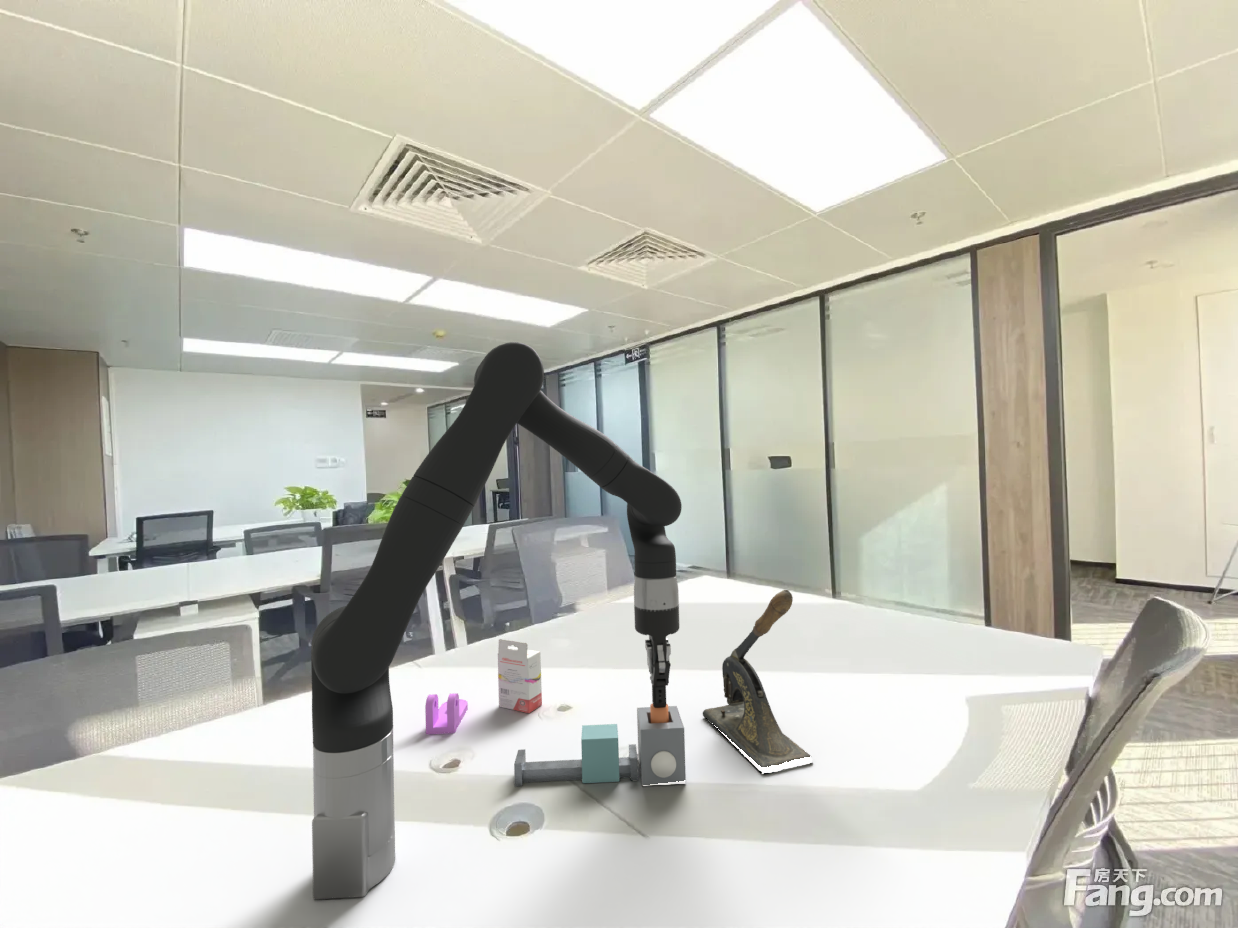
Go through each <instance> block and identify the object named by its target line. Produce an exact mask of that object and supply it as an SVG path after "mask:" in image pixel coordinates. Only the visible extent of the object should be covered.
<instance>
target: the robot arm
mask: <svg viewBox="0 0 1238 928" xmlns="http://www.w3.org/2000/svg"><path fill="white" fill-rule="evenodd" d="M544 379H545V370H544V364H543V361H542V359H541V356H540V355H539V354H538V352H537V351H536V350H535V349H534V348H533V347H532V346H530V345H528V344H526V343H523V342H518V341H512V342H511V341H510V342H505V343H502V344H499V345H497V346H495V347H494V348H492V349H491V350H490V351H488V353H486V355H485V356H484V357H483V359H482V361H481V362H480V364H478V366H477V368H476V370H475V373H474V377H473V384H474V385H473V388H472V389H471V392H470V394H469V396H468V398H467V400H466V402H465V404H464V406H463V407H462V409H461V411H460V412H459V414H458V415H457V417H456V419H455V420H454V421H453V423H452V424H451V425H450V426H449V427H448V428H447V430H446V431H445V432H444V433H443V434H442V436H441V437H440V438H439V439H438V440H437V442H436V443H435V444H434V446H433V447H432V448H431V450H430V451H429V452H428V453H427V454H426V456H425V458H424V459H423V461H421V464H420V465H419V466H418V468H417V469H416V471H415V472H414V473H413V476H412V477H411V479H410V481H409V482H408V483H407V485H406V486H405V488H404V490H403V492H402V493H401V496H400V497H399V499H398V500H397V503H396V505H395V506H394V509H393V511H392V513H391V514H390V516H389V520H388V521H387V522H388V523H387V524H386V526H385V529H384V532H383V534H382V537H381V540H380V542H379V545H378V546H379V547H378V549H377V552H376V554H375V556H374V559H373V561H372V564H371V567H370V568H369V570H368V571H367V574H366V575H365V577H364V579H363V581H362V582H361V584H359V586H358V588H357V589H356V591H355V592H354V594H353V596H352V597H351V598H350V600H349V601H348V603H347V604H346V605H343V606H341V607H338V608H336V609H334V610H333V611H331V612H330V613H328V614H327V615H326V616H325V617H323V619H321V621H320V622H319V623H318V625H317V626H316V627H315V630H314V632H313V635H312V639H311V643H310V644H311V645H310V647H311V648H310V660H311V661H310V662H311V665H310V666H311V669H310V670H311V718H312V719H311V720H312V721H311V722H312V723H311V725H312V760H313V761H312V762H313V763H312V764H313V767H312V768H313V769H312V770H313V771H312V773H313V774H312V779H313V780H312V781H313V819H312V821H311V844H312V845H311V847H312V848H311V850H312V851H311V852H312V855H311V856H312V858H311V859H312V899H313V900H328V899H346V898H362V897H363V898H364V897H365V896H366V895H367V893H368V892H369V891H370V889H372V888H373V887H375V886H376V885H377V884H379V883H380V882H382V881H383V880H384V879H385V878H386V877H387V876H388V875H389V873H391V871H392V869H393V868H394V865H395V863H396V829H395V828H396V826H395V825H396V824H395V820H396V819H395V771H394V767H395V766H394V763H395V762H394V760H395V759H394V710H393V709H394V708H393V701H392V695H391V686H390V685H391V683H390V666H391V664H392V662H393V661H394V658H395V656H396V654H397V652H398V649H399V646H400V644H401V641H402V639H403V637H404V635H405V632H406V630H407V627H408V626H409V622H410V621H411V619H412V616H413V615H414V611H415V609H416V607H417V606H418V603H419V602H420V599H421V598H422V595H423V594H424V592H425V590H426V589H427V586H428V585H429V583H430V581H431V580H432V579H433V576H435V574H436V572H437V571H438V570H439V567H440V566H441V564H442V563H443V561H444V559H445V557H446V556H447V555H448V552H449V550H450V549H451V547H452V546H453V544H454V542H455V541H456V539H457V537H458V535H459V534H460V532H461V531H462V528H463V527H464V526H465V524H466V522H467V520H468V518H469V516H470V515H471V513H472V511H473V509H474V507H475V505H476V503H477V501H478V500H479V497H480V496H481V493H482V492H483V490H484V488H485V486H486V484H487V482H488V480H489V477H490V475H491V473H492V471H493V469H494V467H495V465H496V462H497V460H498V458H499V455H500V453H501V451H502V449H503V447H504V444H505V442H506V441H507V439H508V438H509V436H510V434H511V433H512V431H513V430H514V428H515V426H516V425H519V426H521V427H522V428H524V429H525V430H527V431H528V432H530V433H532V434H533V435H534V436H536V437H537V438H539V439H540V440H541V441H543V442H544V443H546V444H547V445H549V446H550V447H551V448H552V449H553V450H555V451H556V452H557V453H558V454H560V455H562V457H564V458H565V459H566V460H568V461H569V462H570V463H571V464H572V465H574V466H575V467H576V468H577V469H578V470H580V471H581V472H582V473H583V474H585V476H587V477H588V478H589V479H590V480H592V482H594V483H595V484H596V485H598V487H600V488H601V490H603V491H605V492H606V493H608V494H610V495H612V496H615V497H617V498H620V499H621V500H623V501H624V502H626V516H627V517H626V518H627V522H628V527H629V534H630V537H631V541H632V545H633V549H634V550H633V551H634V558H633V559H634V562H633V563H634V585H633V603H634V604H633V608H634V609H633V610H634V612H633V613H634V629H635V632H636V633H639V634H640V635H643V636H648V639H644V647H645V650H646V662H647V663H646V664H647V668H648V673H649V674H650V676H649V680H650V684H651V695H652V696H651V699H652V701H651V702H652V703H653V706H654V708H665V707H666V704H667V686H669V683H670V681H669V680H670V671H671V663H670V656H671V655H672V653H671V652H672V651H671V649H672V648H671V647H672V646H671V643H669V638H667V637H669V635H674V634H676V633H677V632H678V631H680V603H679V602H680V601H679V600H680V599H679V598H680V597H679V595H680V594H679V584H678V578H677V558H676V557H677V553H676V548H675V545H674V544H673V542H672V541H671V540H669V538H668V536H667V534H666V527H668V526H671V525H672V524H674V523H675V522H676V521H678V519H679V517H680V515H681V514H682V507H683V506H682V500H681V497H680V496H679V493H678V492H677V491H676V489H675V488H674V487H673V486H672V485H671V484H669V483H668V482H667V481H666V480H664V479H663V478H662V477H660V476H658V475H657V474H656V473H654V472H652V471H651V470H650V469H648V468H647V467H644V466H643V465H641V464H640V463H638V462H636V460H634V459H633V458H632V457H631V456H630V455H629V454H628V453H627V452H625V450H624V449H622V448H621V447H620V446H619V445H618V444H617V443H615V442H614V441H613V440H612V439H611V438H610V437H608V436H607V435H606V434H604V433H603V432H602V431H600V430H598V429H596V428H595V427H593V426H591V425H590V424H588V423H586V422H584V421H582V420H581V419H578V418H576V417H575V416H574V415H572V414H570V413H568V412H567V411H565V410H564V409H562V408H561V407H559V406H558V405H557V404H556V403H555V402H554V401H552V400H551V399H550V398H549V397H548V396H547V395H546V394H545V393H544V392H543V390H542V387H543V385H544V384H543V383H544Z"/></svg>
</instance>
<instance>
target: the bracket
mask: <svg viewBox="0 0 1238 928" xmlns="http://www.w3.org/2000/svg"><path fill="white" fill-rule="evenodd" d="M425 699H426V701H425V706H424V707H425V709H424V710H425V711H424V712H425V714H424V715H425V735H436V734H437V735H442V734H443V735H446V734H455V733H456V731H457V730H458V727H460V724H461V722H462V721H461V720H463V719H464V717H465V715H466V713H467V712H466V711H468V706H469V704H468V701H467V700H466V699H462V698H460V695H459V693H457V692H456V693H455V692H454V693H449V694H448V697H447V701H444V702H443V703H442V704H441V705H440V706H439V696H438V694H436V693H435V694H433V693H432V694H428V695H427V697H426V698H425Z"/></svg>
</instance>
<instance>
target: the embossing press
mask: <svg viewBox="0 0 1238 928" xmlns="http://www.w3.org/2000/svg"><path fill="white" fill-rule="evenodd" d="M793 598H794V597H793V594H792V593H791V591H789V590H788V589H783V590H782V591H780V592H778V593H776V594H775V595H774V596H773V597H772V598H771V600H770V601H769V603H768V605H767V607H766V609H765V610H764V612H763V613H762V614H761V616H760V617H758V618H757V619H756V621H755V622H754V625H753V629H751V632H749V634H748V635H747V636H746V638H745V639H743V641H742V642H741V643H740V644H739V645H738V646H737V647H736V648H735V649H733V650H732V651H731V654H730V655H729V656H727V657H726V658H725V659H724V660H723V662H722V667H721V669H722V670H721V671H722V679H723V692H724V694H723V695H724V698H726V703H727V704H726V705H723V706H722V705H721V706H717V707H711V708H705V709H703V711H702V716H703V718H704V719H706V718H707V719H708V720H709V721H710V722H711V723H713V724H714V725H715V726H716V727H718V729H719V730H720V731H721V732H723V733H724V734H725V735H727V737H728V738H729V739H731V741H732V742H734V743H735V744H736V745H737V746H738V747H739V748H740V749H742V750H743V751H744V752H745V753H746V754H747V755H748V756H749V757H751V758H752V759H753V760H754V761H755V762H756V763H757V764H758V765H760V766H761V767H767V766H768V767H769V766H771V765H779V764H782V763H784V762H786V761H787V762H789V761H791V760H794V759H800V758H804V757H810V756H811V755H810V754H809V753H808V752H807V751H806V750H804V748H802V747H800V745H798V744H797V743H796V742H794V741H793V740H792V739H790V737H789V736H787V735H786V734H784V733H783V731H782V730H781V728H780V726H779V724H778V722H777V720H776V718H775V715H774V713H773V711H772V708H771V705H770V703H769V700H768V697H767V694H766V691H765V689H764V687H763V684H762V681H761V679H760V677H759V675H758V673H757V671H756V670H755V669H754V667H753V666H752V665H751V663H750V662H749V661H748V660H747V659H746V658H745V656H746V654H748V653H749V651H750V649H751V648H752V647H753V646H754V644H755V643H756V642H757V641H758V639H759V638H760V637H762V636H764V635H766V634H768V633H769V632H770V630H771V628H772V626H773V625H775V623H776V622H777V621H778V620H779V619H781V618H782V617H783V616H785V615H786V614H787V613H788V611H789V610H790V609H791V607H792V605H793V601H794V599H793ZM707 719H706V720H707ZM708 720H707V721H708ZM709 721H708V722H709ZM710 722H709V723H710ZM711 723H710V724H711ZM805 751H806V752H805Z"/></svg>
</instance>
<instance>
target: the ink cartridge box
mask: <svg viewBox="0 0 1238 928" xmlns="http://www.w3.org/2000/svg"><path fill="white" fill-rule="evenodd" d="M497 646H498V647H497V648H498V649H497V671H498V672H497V677H498V678H497V679H498V681H497V682H498V707H499V708H504V709H508V710H513V711H517V712H521V713H525V714H531V713H532V712H533V711H535V710H537V709H538V708H540V707H541V706H543V697H542V696H543V695H542V693H543V692H542V689H543V688H542V663H541V660H542V659H541V651H538V650H532V649H528V648H529V647H528V646H529V645H528V643H527V642H521V641H516V640H509V639H503V638H499V639H498V645H497Z"/></svg>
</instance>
